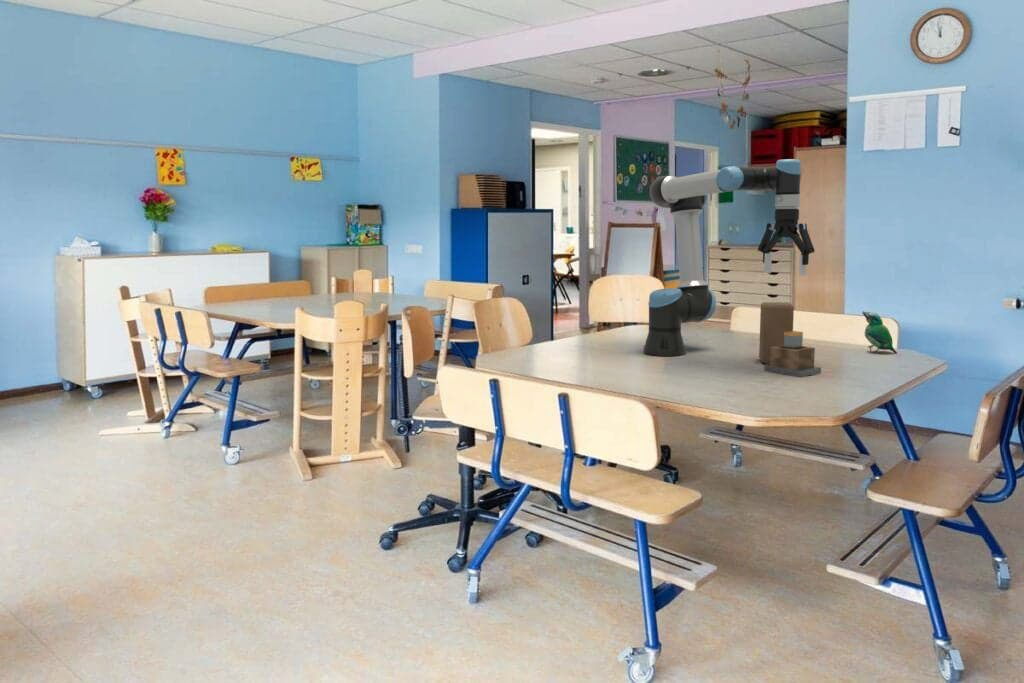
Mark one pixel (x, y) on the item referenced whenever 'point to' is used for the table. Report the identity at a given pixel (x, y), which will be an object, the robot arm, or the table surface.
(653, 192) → the robot arm
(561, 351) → the table surface
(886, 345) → the toy
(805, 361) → the wooden cube shelf
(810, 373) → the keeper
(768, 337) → the block
